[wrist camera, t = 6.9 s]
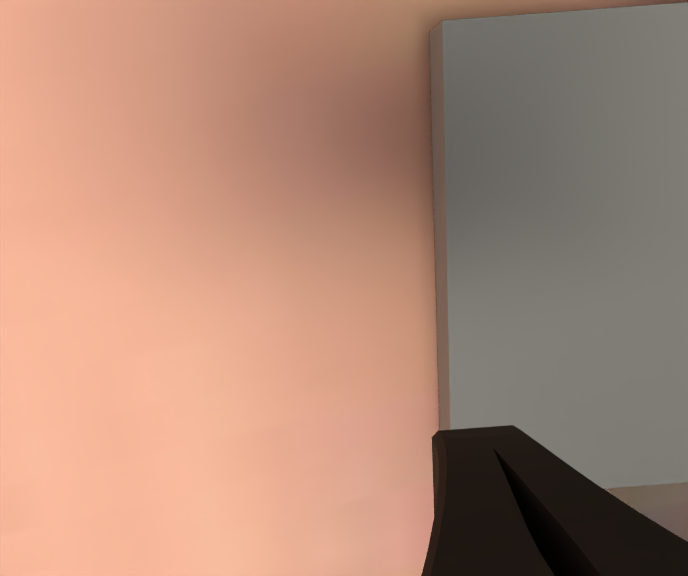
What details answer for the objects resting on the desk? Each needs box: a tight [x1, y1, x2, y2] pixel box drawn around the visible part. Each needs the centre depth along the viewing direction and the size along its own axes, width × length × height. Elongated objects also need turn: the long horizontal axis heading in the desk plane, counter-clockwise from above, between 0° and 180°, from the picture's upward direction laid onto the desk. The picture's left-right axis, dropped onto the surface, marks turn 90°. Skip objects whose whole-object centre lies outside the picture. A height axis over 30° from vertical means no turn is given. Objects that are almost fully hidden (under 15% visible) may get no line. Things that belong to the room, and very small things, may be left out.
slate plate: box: [429, 2, 688, 489], centre depth 17 cm, size 14×13×2 cm
